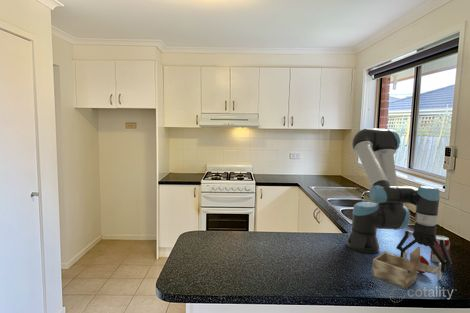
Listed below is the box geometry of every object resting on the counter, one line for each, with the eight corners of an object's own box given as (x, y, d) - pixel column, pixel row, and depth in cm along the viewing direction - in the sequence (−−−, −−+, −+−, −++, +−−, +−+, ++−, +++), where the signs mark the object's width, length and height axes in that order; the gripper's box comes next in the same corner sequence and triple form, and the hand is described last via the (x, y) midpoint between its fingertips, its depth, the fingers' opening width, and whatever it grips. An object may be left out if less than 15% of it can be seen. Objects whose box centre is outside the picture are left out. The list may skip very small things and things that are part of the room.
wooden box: (371, 275, 115) (373, 258, 115) (383, 266, 123) (384, 250, 123) (408, 290, 105) (409, 271, 105) (418, 279, 113) (419, 262, 113)
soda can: (440, 266, 126) (443, 240, 125) (426, 259, 133) (429, 235, 131) (451, 264, 128) (454, 239, 127) (437, 258, 134) (439, 234, 133)
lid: (410, 253, 105) (434, 258, 100) (418, 246, 112) (441, 251, 106) (410, 271, 106) (434, 278, 100) (418, 263, 112) (441, 269, 106)
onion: (422, 270, 122) (424, 252, 121) (432, 277, 116) (434, 258, 115) (409, 270, 121) (411, 252, 121) (418, 276, 116) (420, 258, 115)
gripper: (390, 217, 123) (386, 263, 125) (460, 233, 105) (454, 287, 107) (397, 214, 128) (393, 259, 130) (464, 229, 110) (458, 281, 112)
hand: (420, 272), depth 118 cm, fingers open, 12 cm apart
